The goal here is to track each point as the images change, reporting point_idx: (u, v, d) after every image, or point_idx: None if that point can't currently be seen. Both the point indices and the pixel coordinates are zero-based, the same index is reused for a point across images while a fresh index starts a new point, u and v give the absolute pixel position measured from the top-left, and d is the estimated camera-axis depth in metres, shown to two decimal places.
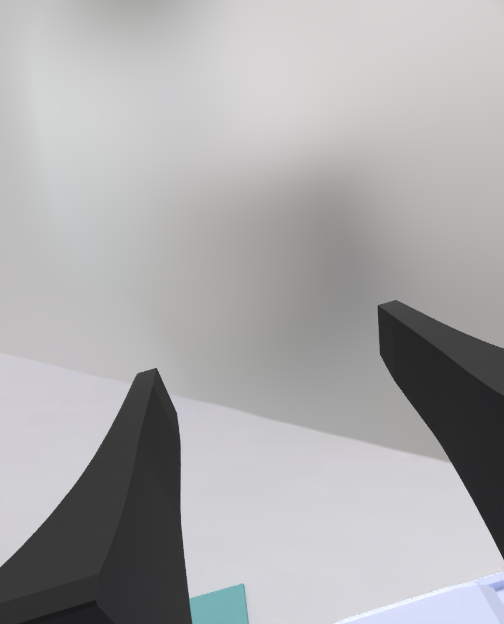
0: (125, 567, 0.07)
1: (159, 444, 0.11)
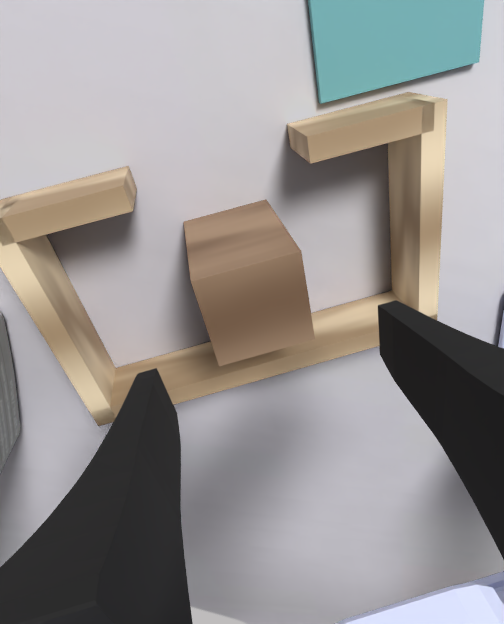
0: (125, 567, 0.07)
1: (160, 444, 0.11)
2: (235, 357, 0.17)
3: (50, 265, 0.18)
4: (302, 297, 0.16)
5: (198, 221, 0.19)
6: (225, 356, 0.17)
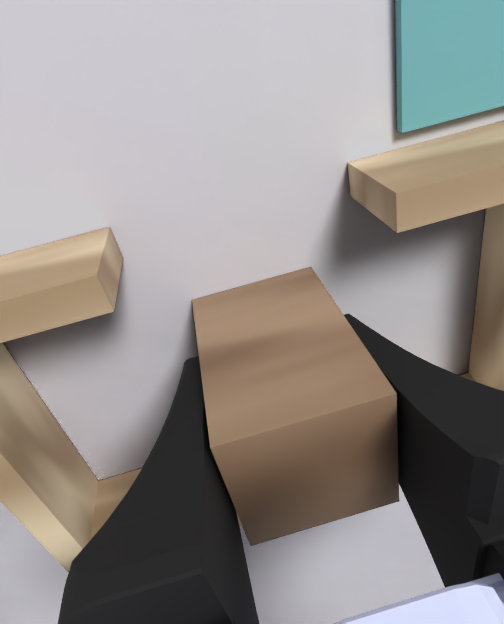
0: (212, 541, 0.07)
1: None
2: (276, 533, 0.11)
3: None
4: (388, 453, 0.10)
5: (214, 301, 0.13)
6: (261, 533, 0.11)
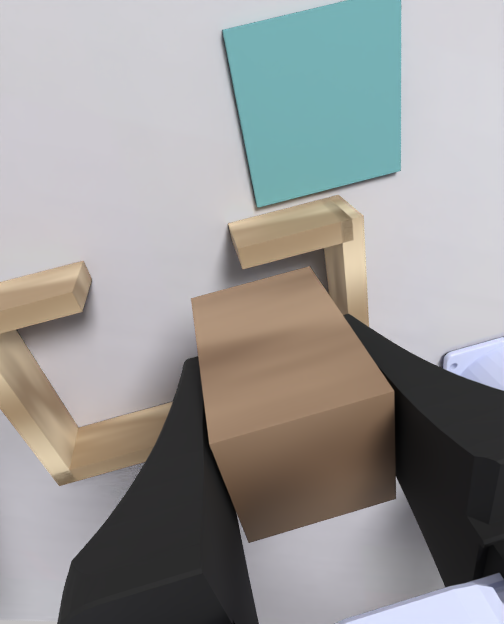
0: (212, 541, 0.07)
1: None
2: (274, 530, 0.11)
3: (12, 348, 0.20)
4: (386, 450, 0.10)
5: (213, 300, 0.13)
6: (259, 530, 0.11)
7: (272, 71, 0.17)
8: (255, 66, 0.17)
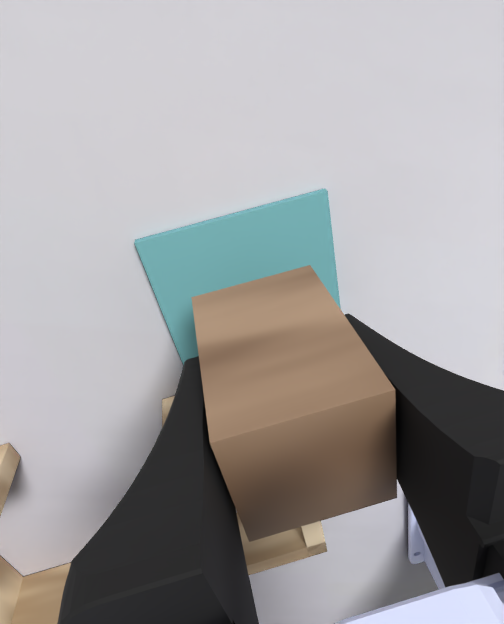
0: (212, 541, 0.07)
1: None
2: (274, 529, 0.11)
3: None
4: (387, 449, 0.10)
5: (213, 299, 0.13)
6: (259, 529, 0.11)
7: (193, 273, 0.16)
8: (174, 270, 0.15)
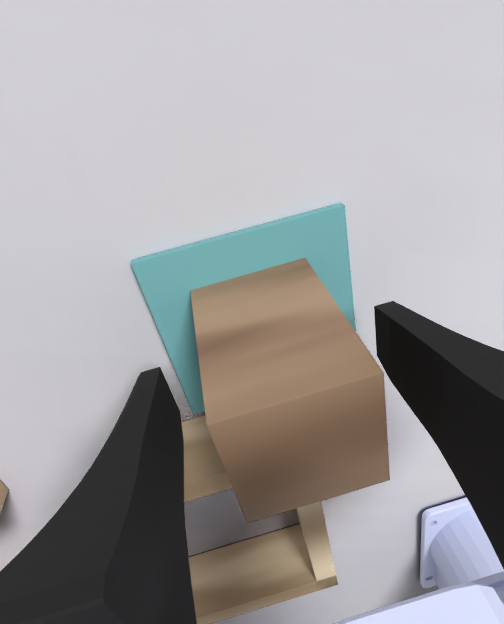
0: (131, 565, 0.07)
1: (164, 443, 0.11)
2: (272, 511, 0.11)
3: None
4: (378, 431, 0.10)
5: (211, 291, 0.14)
6: (257, 511, 0.11)
7: None
8: (175, 293, 0.14)
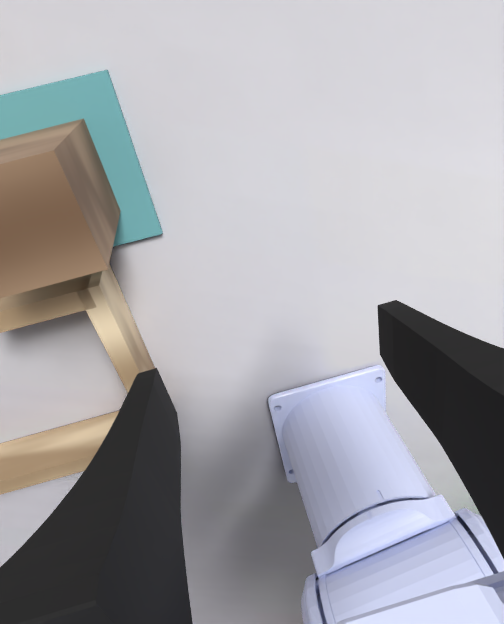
0: (125, 567, 0.07)
1: (160, 444, 0.11)
2: (10, 289, 0.14)
3: None
4: (74, 213, 0.13)
5: None
6: None
7: None
8: None
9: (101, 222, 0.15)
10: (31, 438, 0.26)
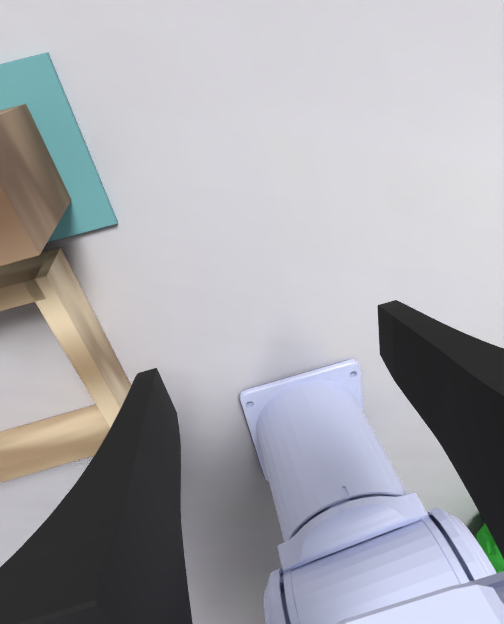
0: (125, 567, 0.07)
1: (160, 444, 0.11)
2: None
3: None
4: None
5: None
6: None
7: None
8: None
9: (37, 208, 0.15)
10: None
